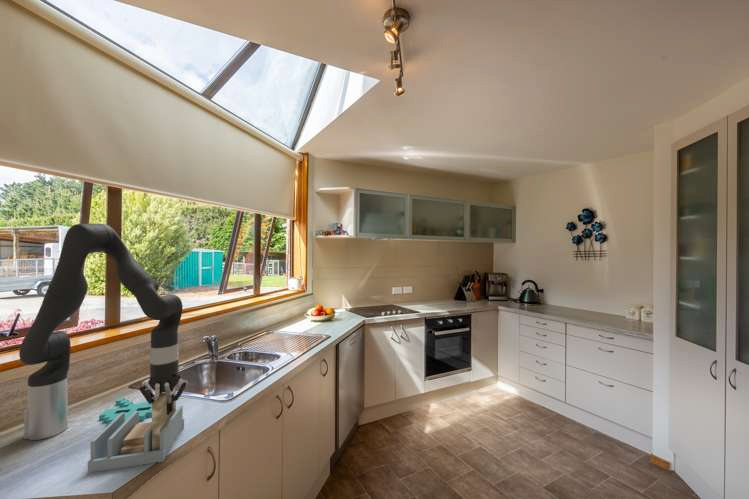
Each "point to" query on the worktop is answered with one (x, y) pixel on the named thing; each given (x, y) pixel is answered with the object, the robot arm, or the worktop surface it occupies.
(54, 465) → the worktop surface
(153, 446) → the light wooden flat slab
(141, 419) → the alien figure
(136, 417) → the rack
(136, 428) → the offcut stack
